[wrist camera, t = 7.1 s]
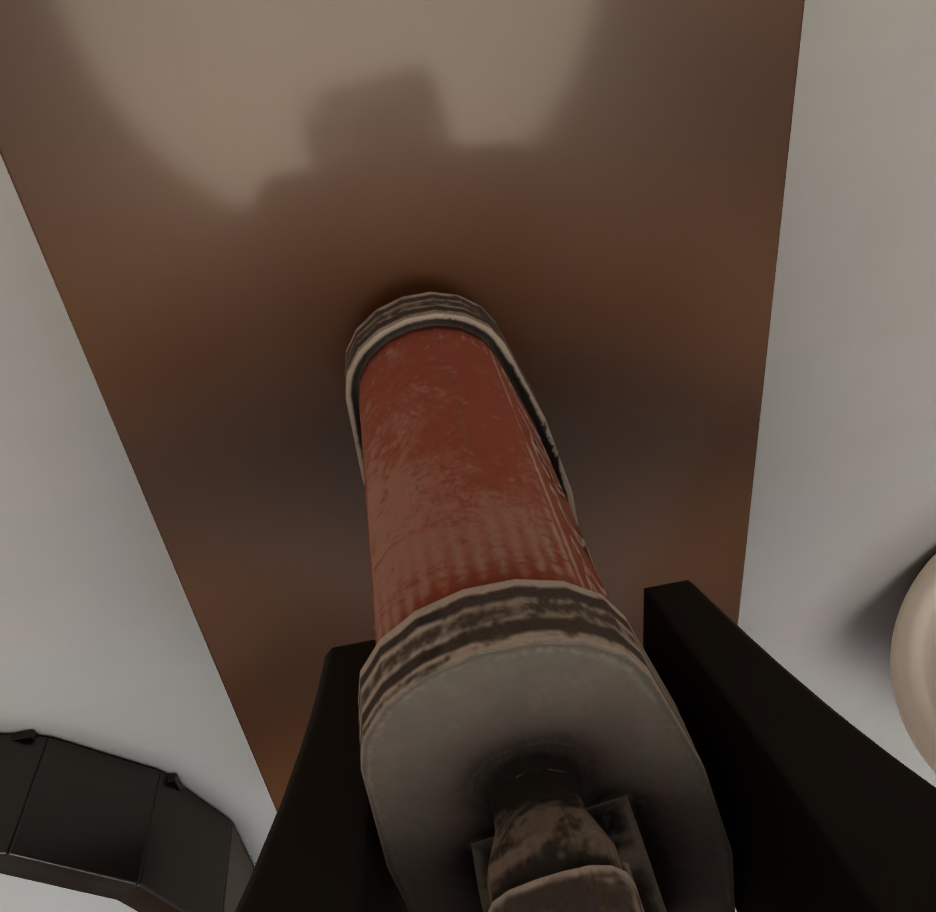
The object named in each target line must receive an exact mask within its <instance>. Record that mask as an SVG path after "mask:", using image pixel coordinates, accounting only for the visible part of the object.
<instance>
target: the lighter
mask: <svg viewBox="0 0 936 912" xmlns="http://www.w3.org/2000/svg"><path fill="white" fill-rule="evenodd" d="M345 390H346V402H347V407H348V411H349V416H350V421H351V426H352V431H353V436H354V441H355V446H356V451H357V456H358V461H359V466H360V471H361V475H362V480H363V483H364V486H365V495H366V510H367V524H368V539H369V553H370V568H371V582H372V597H373V611H374V635H375V640H376V646H375V648H374V650H373V651H372V653H371V654H370V656H369V658H368V659H367V661H366V663H365V664H364V666H363V667H362V669H361V671H360V679H359V695H358V710H359V735H360V759H361V772H362V776H363V779H364V783H365V787H366V790H367V794H368V798H369V802H370V805H371V809H372V813H373V816H374V820H375V824H376V827H377V831H378V835H379V838H380V842H381V846H382V849H383V853H384V857H385V860H386V864H387V868H388V870H389V872H390V874H391V876H392V878H393V880H394V882H395V883H396V885H397V887H398V889H399V891H400V893H401V895H402V897H403V899H404V901H405V903H406V905H407V907H408V909H409V911H410V912H735V902H734V880H733V857H732V850H731V847H730V844H729V841H728V838H727V835H726V832H725V829H724V826H723V822H722V819H721V816H720V813H719V810H718V807H717V804H716V801H715V798H714V795H713V792H712V789H711V786H710V783H709V780H708V777H707V774H706V771H705V768H704V766H703V764H702V762H701V759H700V757H699V755H698V753H697V751H696V748H695V746H694V744H693V742H692V740H691V737H690V735H689V733H688V731H687V729H686V726H685V724H684V722H683V720H682V718H681V715H680V713H679V711H678V709H677V707H676V705H675V703H674V701H673V700H672V698H671V696H670V694H669V693H668V691H667V689H666V687H665V686H664V684H663V682H662V680H661V679H660V677H659V675H658V673H657V672H656V670H655V668H654V666H653V665H652V663H651V661H650V659H649V658H648V656H647V654H646V652H645V651H644V649H643V647H642V646H641V644H640V642H639V640H638V639H637V637H636V635H635V633H634V632H633V630H632V628H631V626H630V625H629V623H628V621H627V619H626V618H625V616H624V615H623V614H622V613H621V612H620V611H619V610H618V609H617V608H616V607H615V606H614V605H612V604H611V602H610V600H609V597H608V595H607V593H606V590H605V588H604V586H603V583H602V581H601V579H600V576H599V574H598V572H597V569H596V567H595V565H594V562H593V560H592V558H591V555H590V553H589V551H588V548H587V546H586V544H585V541H584V539H583V536H582V534H581V532H580V529H579V527H578V521H577V515H576V510H575V504H574V498H573V492H572V489H571V487H570V484H569V481H568V478H567V476H566V473H565V470H564V468H563V465H562V462H561V459H560V457H559V454H558V451H557V449H556V446H555V443H554V440H553V438H552V435H551V432H550V430H549V427H548V424H547V421H546V419H545V417H544V414H543V412H542V410H541V408H540V406H539V403H538V401H537V399H536V397H535V395H534V393H533V391H532V389H531V387H530V385H529V383H528V382H527V380H526V378H525V376H524V374H523V372H522V370H521V369H520V367H519V365H518V363H517V361H516V359H515V357H514V356H513V354H512V352H511V350H510V348H509V346H508V344H507V343H506V341H505V339H504V337H503V335H502V333H501V331H500V330H499V328H498V326H497V324H496V322H495V321H494V320H493V319H492V318H491V317H490V316H489V315H488V313H487V312H486V311H485V310H484V309H483V308H482V307H481V306H480V305H478V304H476V303H474V302H471V301H469V300H467V299H465V298H463V297H461V296H459V295H454V294H445V293H437V292H427V293H421V294H416V295H410V296H405V297H401V298H399V299H397V300H395V301H393V302H391V303H389V304H387V305H385V306H383V307H381V308H379V309H377V310H375V311H374V312H373V313H372V314H371V315H370V316H369V317H368V318H367V319H366V320H365V321H364V322H363V323H362V324H361V325H360V326H359V327H358V328H357V329H356V331H355V333H354V335H353V337H352V339H351V341H350V343H349V345H348V347H347V350H346V355H345Z"/></svg>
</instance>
